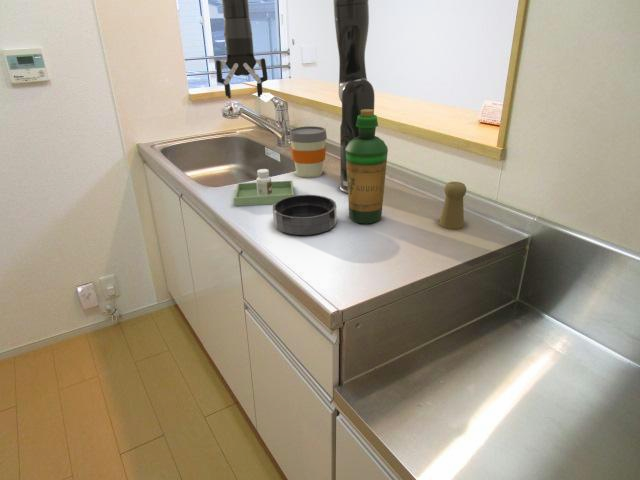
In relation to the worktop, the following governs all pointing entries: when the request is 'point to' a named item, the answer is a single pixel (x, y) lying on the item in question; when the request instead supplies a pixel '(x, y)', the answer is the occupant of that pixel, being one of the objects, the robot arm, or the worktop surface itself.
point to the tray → (249, 196)
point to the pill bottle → (264, 183)
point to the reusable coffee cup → (308, 150)
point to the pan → (304, 214)
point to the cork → (453, 206)
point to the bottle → (366, 170)
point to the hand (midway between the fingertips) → (244, 97)
